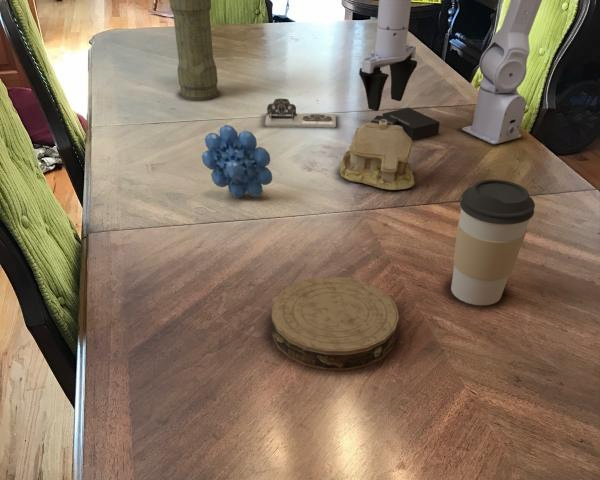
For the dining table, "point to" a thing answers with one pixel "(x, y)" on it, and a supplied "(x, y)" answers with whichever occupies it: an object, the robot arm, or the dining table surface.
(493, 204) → the coffee cup
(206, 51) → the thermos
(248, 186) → the blue knobbed flower
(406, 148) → the ceramic model
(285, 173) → the dining table surface
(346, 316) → the wood slice
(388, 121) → the black rectangular block
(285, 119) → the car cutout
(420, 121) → the base pad
